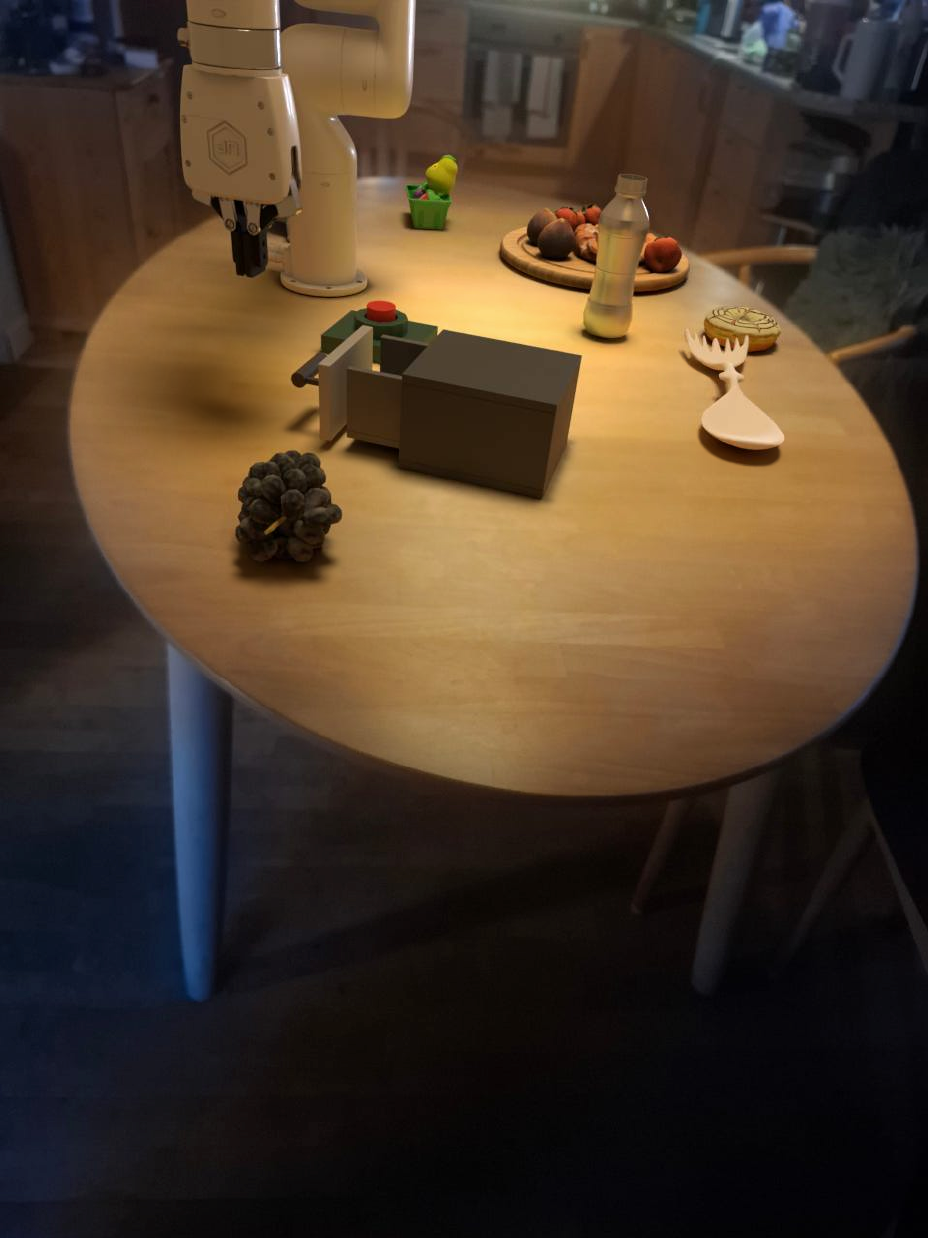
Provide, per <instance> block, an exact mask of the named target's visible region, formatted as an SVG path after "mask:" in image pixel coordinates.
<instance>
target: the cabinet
mask: <svg viewBox="0 0 928 1238" xmlns="http://www.w3.org/2000/svg"><path fill="white" fill-rule="evenodd" d="M582 357H583V355H582V354H577V353H572V352H566V351H562V350H561V351H560V350H556V349H549V348H545V347H539V346H534V345H528V344H524V343H519V342H513V341H507V340H502V339H497V338H492V337H486V336H481V335H476V334H470V333H465V332H459V331H454V330H449V329H441V330H440V332H439V333H438V334H437V337H436V338H435V339H434V340H433V341H432V342H431V343H430V344H429V345H428V346H427V347H426V348H425V350H424V351H423V352H422V353H421V354H420V355H419V356H418V357H417V358H416V359H415V360H414V362H413V363H412V364H411V365H410V366H409V367H408V368H407V369H406V370H405V371H404V372H403V374H402V389H401V415H400V441H399V448H398V465H397V466H398V468H400V469H404V470H409V471H414V472H419V473H423V474H427V475H432V476H435V477H436V476H437V477H442V478H445V479H451V480H455V481H458V482H464V483H469V484H473V485H477V486H483V487H486V488H492V489H496V490H500V491H504V492H505V491H506V492H510V493H515V494H519V495H522V496H527V497H531V498H537V499H541V500H542V499H543V498H544V495H545V493H546V491H547V488H548V487H549V484H550V482H551V480H552V478H553V475H554V473H555V472H556V471H555V470H556V468H557V466H558V464H559V461H560V460H561V458H562V455H563V453H564V451H565V449H566V446H567V443H568V439H569V433H570V428H571V422H572V416H573V411H574V403H575V398H576V393H577V386H578V381H579V374H580V369H581V364H582Z"/></svg>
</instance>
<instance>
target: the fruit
mask: <svg viewBox="0 0 928 1238" xmlns="http://www.w3.org/2000/svg"><path fill="white" fill-rule="evenodd" d="M321 463H322V462H321V460H320V457H319V456H318V455H317V454H316V453H313V452H305V453H303V454H301V453H300V452H298V451H297V450H295V449H293V450H292V449H290V450H287V451H286V452H277V453H275V454H274V455H273V456H272V457H271V458H270V459H269V460H268V461H266V462H264V461H259V462H255V463H254V464H253V465H251V466H250V467H249V470H248V473H247V476H246V477H245V478H244V479H243V480H242V484H241V485H242V486H240V487H239V488H238V491H237V499H238V501H239V502H240V503H241V504H242V505H241V509H240V511H239V513H238V515H237V518H238V522H239V524H238V525H236V527H235V534H234V536H235V539H236V541H237V542H238V543H240V544H242V545H244V546H247V545H248V549H247V550H248V554H249V556H250V557H251V558H252V559H253V560H254V561H258V562H264V561H266V560H269V559H271V558H272V557H273V556H274V557H276V558H278V559H281V560H283V561H286V560H288V559H290V558H293V560H295V561H296V562H301V563H303V562H308V561H309V560H311V558H312V557H314V556H313V555H314V549H319V548H321V547H322V546H323V545H324V542H325V539H326V535H328V534H329V532H330V530H331V527H332V525H335V524H338V523H340V522H341V521H342V518H343V510H342V508H341V507H340V506H339V505H338V504H337V503H333V502H332V493H331V492H330V490H329V488H328V487H327V486H324V484H325V483H326V481H327V474H326V472H325V470H324V469H323V468H322V467H321Z"/></svg>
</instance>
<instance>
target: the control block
mask: <svg viewBox="0 0 928 1238" xmlns="http://www.w3.org/2000/svg"><path fill="white" fill-rule="evenodd" d="M362 325H364V326H369V327H373V359H372V363H374V364H379V365H380V340H381V336H382V335H388V336H393V337H399V338H404V339H409V340H414V341H419V342H425V343H431V342H432V341H433V340H434V339H435V338H436V337H437V335H438V334H439V333H438V332H439V326H438V325H433V324H429V323H423V322H417V321H412V320H409V318H408V316H407V314H406V313H405V312H402V311H400V310H398V309H396V320H395V321H392V322H375V321H370V320H368V319H367V307H364V308H360V309H358V310H354V309H351V310H350V311H348V312H347V313H346V314H345V315H343V316H342V317H341V318H339V320H337V321H336V322H335V323H333V324H332V325H331V326H330V327H329V328H327V330H325V331H324V332H322V333H321V334H320V352H322V353H324V354H328V355H329V354H330V353H331V352H333V351H334V350H335V349H336V348H337V347H338V346H339V345H341V344H342V343H343V342H344V341H345V340H346V339H348V338H349V337H350V336H351V335H352V334H353V333H354V332H356V331H357V330H358V329H359V328H360V327H361V326H362Z"/></svg>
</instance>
